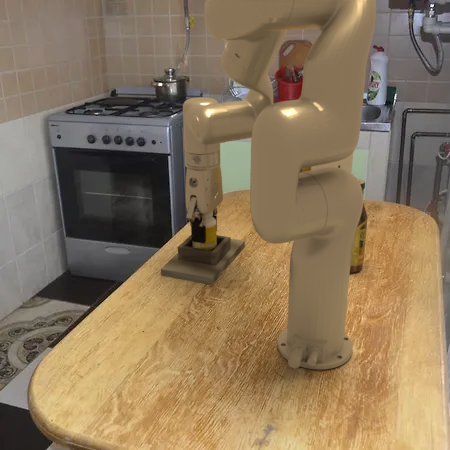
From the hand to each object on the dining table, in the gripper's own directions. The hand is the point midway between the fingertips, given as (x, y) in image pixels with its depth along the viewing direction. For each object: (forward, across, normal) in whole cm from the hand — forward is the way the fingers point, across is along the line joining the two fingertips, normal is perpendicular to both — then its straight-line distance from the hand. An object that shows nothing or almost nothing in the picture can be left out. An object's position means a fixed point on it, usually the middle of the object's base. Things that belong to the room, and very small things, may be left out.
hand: (204, 235), depth 123 cm
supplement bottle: (+4, 0, 0) cm, 4 cm away
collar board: (+6, 0, 0) cm, 6 cm away
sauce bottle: (+6, +8, -31) cm, 33 cm away
